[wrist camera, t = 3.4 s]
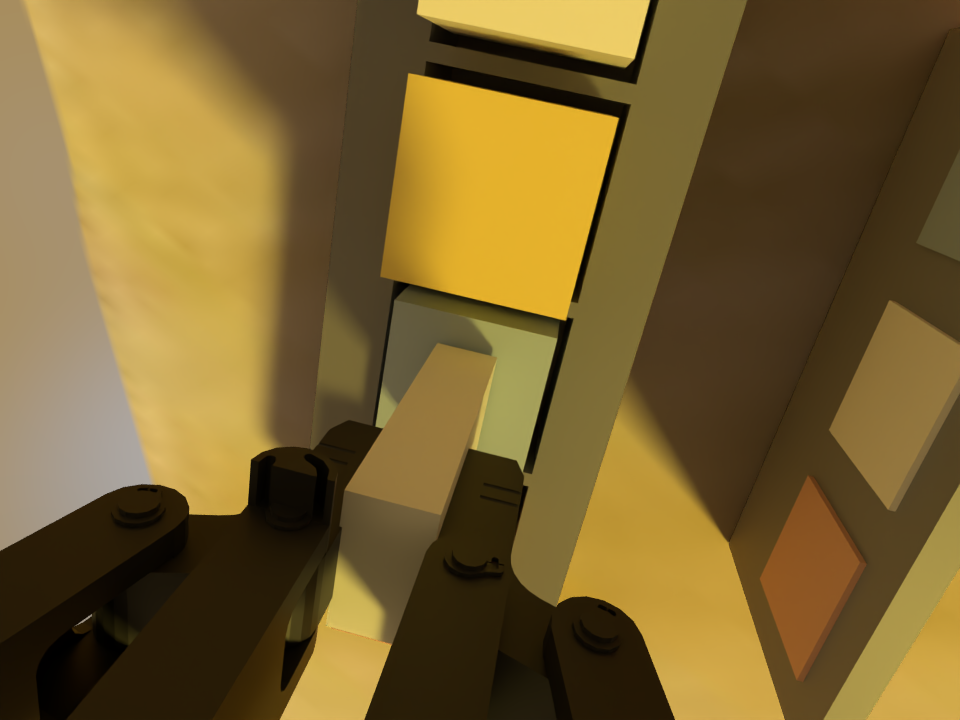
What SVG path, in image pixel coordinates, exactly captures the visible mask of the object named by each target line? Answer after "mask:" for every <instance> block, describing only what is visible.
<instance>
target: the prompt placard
mask: <svg viewBox="0 0 960 720" xmlns="http://www.w3.org/2000/svg"><path fill="white" fill-rule="evenodd" d="M729 547H730V550H731V553H732V556H733V559H734V562H735V566H736V569H737V572H738V575H739V578H740V581H741V584H742V587H743V590H744V594H745V597H746V600H747V603H748V606H749V609H750V612H751V615H752V618H753V622H754V625H755V628H756V631H757V634H758V637H759V640H760V643H761V646H762V650H763V653H764V656H765V659H766V662H767V665H768V668H769V671H770V674H771V678H772V681H773V684H774V687H775V690H776V693H777V696H778V699H779V702H780V706H781V709H782V712H783V715H784V718H785V720H866V719H867V718H868V716H869V715H870V713H871V711H872V710H873V708H874V706H875V705H876V703H877V702H878V700H879V698H880V697H881V695H882V693H883V692H884V690H885V689H886V687H887V685H888V684H889V682H890V680H891V679H892V677H893V676H894V674H895V672H896V671H897V669H898V667H899V666H900V664H901V663H902V661H903V659H904V658H905V656H906V654H907V653H908V651H909V650H910V648H911V646H912V645H913V643H914V641H915V640H916V638H917V637H918V635H919V633H920V632H921V630H922V628H923V627H924V625H925V624H926V622H927V620H928V619H929V617H930V615H931V614H932V612H933V611H934V609H935V607H936V606H937V604H938V602H939V601H940V599H941V598H942V596H943V594H944V593H945V591H946V589H947V588H948V586H949V585H950V583H951V581H952V580H953V578H954V576H955V575H956V573H957V572H958V570H959V568H960V28H955V29H950V30H949V33H948V35H947V37H946V40H945V42H944V44H943V47H942V49H941V51H940V54H939V56H938V58H937V61H936V63H935V65H934V68H933V70H932V72H931V75H930V77H929V79H928V82H927V84H926V86H925V89H924V91H923V93H922V96H921V98H920V100H919V102H918V105H917V107H916V109H915V112H914V114H913V116H912V119H911V121H910V123H909V126H908V128H907V130H906V133H905V135H904V137H903V140H902V142H901V144H900V147H899V149H898V151H897V154H896V156H895V158H894V161H893V163H892V165H891V168H890V170H889V172H888V175H887V177H886V179H885V182H884V184H883V186H882V189H881V191H880V193H879V195H878V198H877V200H876V202H875V205H874V207H873V209H872V212H871V214H870V216H869V219H868V221H867V223H866V226H865V228H864V230H863V233H862V235H861V237H860V240H859V242H858V244H857V247H856V249H855V251H854V254H853V256H852V258H851V261H850V263H849V265H848V268H847V270H846V272H845V275H844V277H843V279H842V282H841V284H840V286H839V288H838V291H837V293H836V295H835V298H834V300H833V302H832V305H831V307H830V309H829V312H828V314H827V316H826V319H825V321H824V323H823V326H822V328H821V330H820V333H819V335H818V337H817V340H816V342H815V344H814V347H813V349H812V351H811V354H810V356H809V358H808V361H807V363H806V365H805V368H804V370H803V372H802V375H801V377H800V379H799V381H798V384H797V386H796V388H795V391H794V393H793V395H792V398H791V400H790V402H789V405H788V407H787V409H786V412H785V414H784V416H783V419H782V421H781V423H780V426H779V428H778V430H777V433H776V435H775V437H774V440H773V442H772V444H771V447H770V449H769V451H768V454H767V456H766V458H765V461H764V463H763V465H762V468H761V470H760V472H759V474H758V477H757V479H756V481H755V484H754V486H753V488H752V491H751V493H750V495H749V498H748V500H747V502H746V505H745V507H744V509H743V512H742V514H741V516H740V519H739V521H738V523H737V526H736V528H735V530H734V533H733V535H732V537H731V540H730V542H729Z"/></svg>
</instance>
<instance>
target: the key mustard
mask: <svg viewBox="0 0 960 720" xmlns="http://www.w3.org/2000/svg"><path fill="white" fill-rule="evenodd" d="M618 120H619V118H617V117H615V116H612V115H608V114H603V113H599V112H594V111H589V110H585V109H580V108H575V107H571V106H566V105H561V104H556V103H552V102H547V101H542V100H538V99H533V98H528V97H524V96H519V95H514V94H510V93H505V92H500V91H496V90H491V89H486V88H482V87H477V86H472V85H468V84H463V83H458V82H454V81H449V80H444V79H438V78H433V77H427V76H421V75H416V74H410V73H409V74H408V81H407V88H406V95H405V102H404V109H403V117H402V124H401V131H400V138H399V145H398V153H397V160H396V167H395V174H394V181H393V188H392V196H391V203H390V210H389V217H388V224H387V231H386V239H385V246H384V253H383V260H382V267H381V274H380V277H384V278H388V279H392V280H396V281H401V282H405V283H409V284H413V285H418V286H422V287H426V288H430V289H434V290H439V291H443V292H447V293H451V294H456V295H460V296H464V297H468V298H472V299H477V300H481V301H485V302H489V303H494V304H498V305H502V306H506V307H510V308H515V309H519V310H523V311H527V312H532V313H536V314H540V315H544V316H548V317H553V318H557V319H561V320H565V321H566V317H567V314H568V310H569V306H570V302H571V298H572V295H573V291H574V287H575V283H576V279H577V276H578V272H579V268H580V264H581V260H582V257H583V253H584V249H585V245H586V241H587V238H588V234H589V230H590V226H591V222H592V219H593V215H594V211H595V207H596V203H597V200H598V196H599V192H600V188H601V184H602V181H603V177H604V173H605V169H606V165H607V162H608V158H609V154H610V150H611V146H612V143H613V139H614V135H615V131H616V127H617V124H618Z"/></svg>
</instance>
